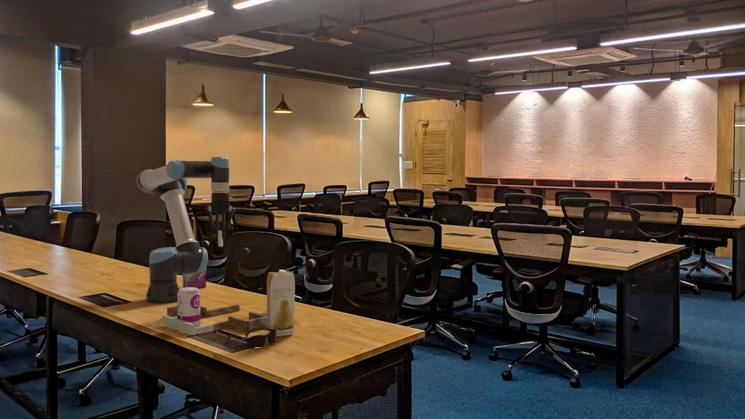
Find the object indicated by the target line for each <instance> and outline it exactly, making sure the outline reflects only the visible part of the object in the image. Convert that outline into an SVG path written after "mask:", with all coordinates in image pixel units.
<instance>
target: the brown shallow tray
mask: <svg viewBox="0 0 745 419" xmlns="http://www.w3.org/2000/svg"><path fill="white" fill-rule="evenodd" d="M240 307H241V306H240V304H232V305H228V306H223V307H218V308H211V309H208V308H207V307H206V306H202V305H200V319H201V318H203V319H206V318H209V317H211V318H212V317H216V316H220V315H225V314H230V313H235V312H240V311H241V310H240ZM166 309H167V310H166V311H167V312H166V315H167V316H170V317H177V316H178V307H177V305H175V306H167V307H166ZM213 324H214V331H213V332H216V331H220V330H224V329H228V328H229V329H234V330H237V331H241V332H244V333H247V332H248V331H250V330H251V329H253V328H266V327H267V311H265V312H260V313H257V312H254V311H249V312H248V320H246V319H243V318H239V317H235V316H232V315H229V316H227V320H224V321H219V322H214V323H213ZM258 330H259V329H255V330H253V331H252V332H254V331H258Z"/></svg>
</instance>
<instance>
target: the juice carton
mask: <svg viewBox="0 0 745 419" xmlns="http://www.w3.org/2000/svg"><path fill="white" fill-rule="evenodd" d="M295 281H296V280H295V275H294V273H293V272H291V271H289V270H287V271H286V270H285V269H279V270H278V272H274V271H273V272H271V271H270V272H268V274H267V279H266V312H267V328H269V329H276V338H278V337H284V336H285V335H286V336H292V334H293V335H294V330H295V323H296V322H295V319H296V318H295V316H296V315H295V314H296V313H295V312H296V310H295V309H296V308H295V306H296V303H295V302H296V299H295V298H296V297H295V296H296V294H295V293H296V291H295V290H296V286H295V285H296V282H295ZM267 332H268V334H269V333H270V332H271V331H267ZM277 336H278V337H277Z"/></svg>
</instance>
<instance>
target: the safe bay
mask: <svg viewBox="0 0 745 419" xmlns="http://www.w3.org/2000/svg"><path fill="white" fill-rule="evenodd" d="M161 317H162V318H161V320H162V321H161V322H162V323H161V324H162V325H164V326H163V327H165V326H166V327H165V328H168V327H169V328H168V329H170V328H172V329H171V330H173V329H175V330H174V331H176V330H178V331H177V332H179V331H181V332H180V333H182V332H184V333H183V334H185V333H187V334H186V335H188V334H190V335H189V336H191V335H195V336H197V335H196V334H199V335H203V334H206V333H207V334H208V333H212V332H215V331H214V323H210V324H206V325H200V326H199V327H195V324H192V323H189V322H185V321H182V320H179V319H178V316H177V317H170V316H167V314H163V315H161ZM202 333H203V334H202Z"/></svg>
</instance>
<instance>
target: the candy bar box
mask: <svg viewBox="0 0 745 419" xmlns="http://www.w3.org/2000/svg"><path fill="white" fill-rule="evenodd" d="M181 284H182V287H181V288H185V287H196V288H198V289H205V288H207V267H206V268H205V269H204V270H203V271H202V272H197V273H190V274H182V282H181Z"/></svg>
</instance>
